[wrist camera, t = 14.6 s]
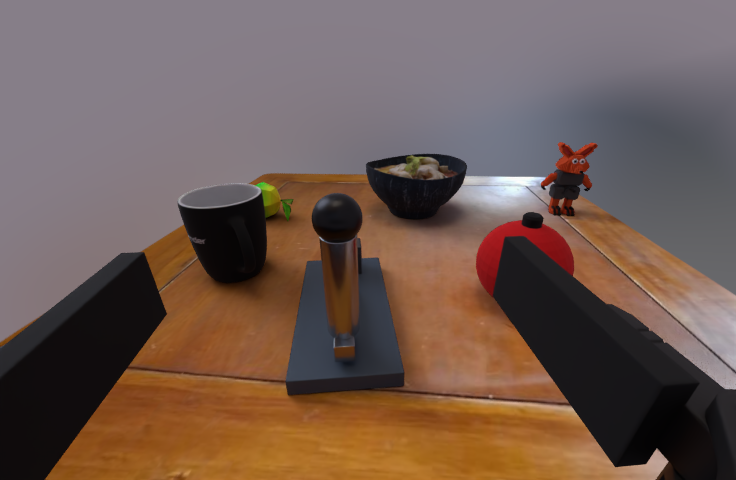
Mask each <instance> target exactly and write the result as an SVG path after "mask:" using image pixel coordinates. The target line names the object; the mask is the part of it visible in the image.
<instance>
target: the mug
mask: <svg viewBox="0 0 736 480" xmlns="http://www.w3.org/2000/svg"><path fill="white" fill-rule="evenodd" d="M178 207H179V210H180V213H181V217H182V220H183V222H184V225H185V228H186V231H187V233H188V236H189V238H190V241H191V243H192V245H193V248H194V250H195V252H196V254H197V256H198V258H199V260H200V262H201V264H202V266H203V267H204V269H205V270H206V272H207V273H208V274H209V275H210V276H211V277H212V278H213V279H215V280H216V281H219V282H224V283H233V282H239V281H243V280H246V279H249V278H251V277H253V276H255V275H256V274H258V273H259V272H260V271H261V270H262V268H263V266H264V263H265V260H266V251H267V235H266V219H265V209H264V201H263V195H262V191H261V189H260V188H259V187H257V186H254V185H250V184H239V183H236V184H235V183H234V184H220V185H213V186H208V187H203V188H199V189H196V190H193V191H190V192H188V193H185V194H184V195H182V196H181V197H180V198H179V199H178Z"/></svg>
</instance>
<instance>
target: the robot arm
mask: <svg viewBox="0 0 736 480" xmlns="http://www.w3.org/2000/svg"><path fill="white" fill-rule="evenodd" d="M493 297H494V298H495V300H496V301H497V303H498V304H499V305H500V307H501V308H502V310H503V311H504V312H505V314H506V315H507V317H508V318H509V319H510V321H511V322H512V324H513V325H514V326H515V328H516V329H517V330H518V332H519V333H520V335H521V336H522V337H523V339H524V340H525V342H526V343H527V344H528V346H529V347H530V349H531V350H532V351H533V353H534V354H535V356H536V357H537V358H538V360H539V361H540V363H541V364H542V365H543V367H544V368H545V370H546V371H547V372H548V374H549V375H550V377H551V378H552V379H553V381H554V382H555V384H556V385H557V386H558V388H559V389H560V391H561V392H562V393H563V395H564V396H565V398H566V399H567V400H568V402H569V403H570V405H571V406H572V407H573V409H574V410H575V412H576V413H577V414H578V416H579V417H580V419H581V420H582V421H583V423H584V424H585V425H586V427H587V428H588V430H589V431H590V432H591V434H592V435H593V437H594V438H595V439H596V441H597V442H598V444H599V445H600V446H601V448H602V449H603V451H604V452H605V453H606V455H607V456H608V458H609V459H610V460H611V462H612V463H613V465H614V466H615V467H621V466H631V465H642V464H646V463H647V462H648V460H649V459H650V457H651V456H652V454H653V453H654V451H655V450H656V448H657V449H658V450H659V451H660V452H661V453H662V454H663V455H664V457H665V458H666V459H667V460H668V461H669V462H668V463H667V465H666V466H665V468H664V469H663V470H662V472H661V473H660V475H659V476H658V477H657V479H656V480H736V390H733V389H724V388H723V387H722V386H720V385H719V384H718V383H717V382H715V381H714V380H713V379H712V378H710V377H709V376H708V375H707V374H705V373H704V372H703V371H702V370H700V369H699V368H698V367H697V366H695V365H694V364H693V363H692V362H690V361H689V360H688V359H687V358H685V357H684V356H683V355H682V354H680V353H679V352H678V351H677V350H675V349H674V348H673V347H672V346H670V345H669V344H668V343H664V342H663V339H662V338H660V337H659V336H658V335H656V334H655V333H654V332H653V331H649V328H648V327H646V326H645V325H644V324H643V323H641V322H640V321H639V320H638V319H636V318H635V317H634V316H633V315H631V314H629V313H627V312H625V311H623V310H622V309H620V308H618V307H616V306H614V305H612V304H605V303H604V302H603V301H602V300H601V299H599V298H598V297H597V296H596V295H595V294H593V293H592V292H591V291H590V290H589V289H587V288H586V287H585V286H584V285H583V284H581V283H580V282H579V281H578V280H577V279H575V278H574V277H573V276H572V275H571V274H569V273H568V272H567V271H566V270H565V269H563V268H562V267H561V266H560V265H559V264H557V263H556V262H555V261H554V260H553V259H551V258H550V257H549V256H548V255H547V254H545V253H544V252H543V251H542V250H541V249H539V248H538V247H537V246H536V245H535V244H533V243H532V242H531V241H530V240H529V239H528V238H526V237H525V236H505V238H504V242H503V247H502V252H501V257H500V262H499V267H498V272H497V276H496V281H495V286H494V291H493ZM166 315H167V313H166V310H165V308H164V305H163V302H162V300H161V297H160V294H159V291H158V289H157V286H156V283H155V281H154V278H153V275H152V272H151V270H150V267H149V264H148V262H147V259H146V256H145V253H144V252H138V253H121V254H120V255H118V256H117V257H116V258H114V259H113V260H112V261H111V262H110V263H108V264H107V265H106V266H104V267H103V268H102V269H101V270H99V271H98V272H97V273H96V274H94V275H93V276H92V277H90V278H89V279H88V280H87V281H85V282H84V283H83V284H82V285H80V286H79V287H78V288H77V289H75V290H74V291H73V292H71V293H70V294H69V295H68V296H66V297H65V298H64V299H63V300H61V301H60V302H59V303H57V304H56V305H55V306H54V307H52V308H51V309H50V310H49V311H47V312H46V313H45V314H44V315H42V316H41V317H40V318H38V319H37V320H36V321H35V322H33V323H32V324H31V325H30V326H28V327H27V328H26V329H25V330H23V331H22V332H21V333H20V334H18V335H17V336H16V337H14V338H13V339H12V340H11V341H9V342H8V343H7V344H5V345H4V346H2V347H0V480H45V478H46V477H47V476H48V474H49V473H50V472H51V470H52V469H53V467H54V466H55V465H56V463H57V462H58V461H59V459H60V458H61V457H62V455H63V454H64V453H65V451H66V450H67V449H68V447H69V446H70V444H71V443H72V442H73V440H74V439H75V438H76V436H77V435H78V434H79V432H80V431H81V430H82V428H83V427H84V426H85V424H86V423H87V421H88V420H89V419H90V417H91V416H92V415H93V413H94V412H95V411H96V409H97V408H98V407H99V405H100V404H101V403H102V401H103V400H104V398H105V397H106V396H107V394H108V393H109V392H110V390H111V389H112V388H113V386H114V385H115V384H116V382H117V381H118V380H119V378H120V377H121V375H122V374H123V373H124V371H125V370H126V369H127V367H128V366H129V365H130V363H131V362H132V361H133V359H134V358H135V357H136V355H137V354H138V352H139V351H140V350H141V348H142V347H143V346H144V344H145V343H146V342H147V340H148V339H149V338H150V336H151V335H152V334H153V332H154V331H155V329H156V328H157V327H158V325H159V324H160V323H161V321H162V320H163V319H164V317H165V316H166Z"/></svg>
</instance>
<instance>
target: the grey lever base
mask: <svg viewBox="0 0 736 480" xmlns="http://www.w3.org/2000/svg"><path fill="white" fill-rule="evenodd" d="M357 249H358V282H359V315H360V330H359V332H358V333H357V334H356V335H355V336H354V340H355V361H347V362H335V358H334V337H332V336H331V335H330V334H329V332H328V327H327V316H326V305H325V294H324V282H323V271H322V261H307V265H306V271H305V276H304V282H303V287H302V293H301V298H300V304H299V310H298V315H297V321H296V326H295V332H294V337H293V343H292V349H291V354H290V360H289V365H288V371H287V376H286V387H287V392H288V395H293V394H306V393H319V392H331V391H344V390H357V389H369V388H382V387H395V386H403V385H404V369H403V364H402V360H401V355H400V351H399V347H398V342H397V338H396V333H395V329H394V324H393V320H392V316H391V311H390V307H389V302H388V298H387V293H386V289H385V284H384V280H383V276H382V271H381V267H380V262H379V258H361V242H360V238H357Z"/></svg>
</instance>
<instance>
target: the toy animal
mask: <svg viewBox="0 0 736 480" xmlns="http://www.w3.org/2000/svg"><path fill="white" fill-rule="evenodd" d="M558 146H559V150H560V152H561V153H562V154H563V155H564V156H563V157H562V158H561V159H559V161H558V162H557V163H556V166H557V168H558V169H560V170H556V171H555V172H554V174H553V173H551V174H550V175H549V176H548V177H547V178H546V179H545V180H544V181H543V182H541V188H542V189H543V190H546V188H545V186H548V185H549V184H550V183H552V182H554V183H555V184H553V185H551V187H550V191H549V195H550V196H551V201H550V205H549V209H548V210H549V213H551V214H553V215H556V214H558V215H561V210H562V213H563V214H566V215H567V216H570V215H571V216H574V213H575V212H574V208H573V207H571V205H572V201H573V200H576V199H577V198H578V196H579V192H580V188H579V187H578V186H579V185H581V184H582V183H583V185H584V186H585V187H587V189H588V190H590V188H591V187H592V183H591V182H590V181H589V180H590V179H589V178H588V176H587V175H585V174H583V172H585V171H586V170H587V169H588V168H589V164H588V162H587V161H586V159H585V157H586V156H587V155H589V154H590V153H592V152H593V150H594V149H595V148H597V144H595V143H590V144H589V145H585V146H584V147H582V148H581V149H580V150H578V151H576V152H573V151H572V149H571V148H570V147H569V146H568V145H565V143H561V142H560V143H559V144H558ZM587 189H584V190H585V191H588V190H587ZM564 197H565V199H564V203H563V204H562V208H560V207H559V206H558V204H559V200H560V199H562V198H564Z"/></svg>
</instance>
